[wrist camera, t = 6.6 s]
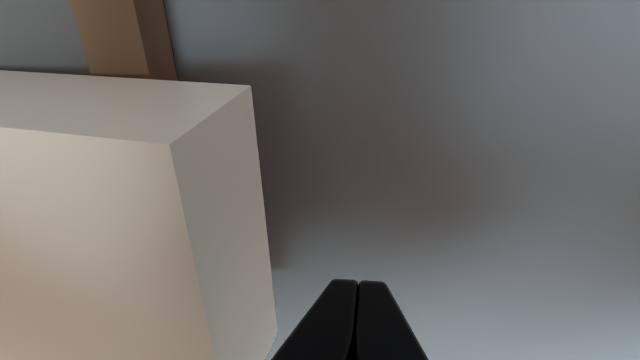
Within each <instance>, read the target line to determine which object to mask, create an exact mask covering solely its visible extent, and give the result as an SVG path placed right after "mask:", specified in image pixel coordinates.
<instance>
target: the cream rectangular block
mask: <svg viewBox="0 0 640 360" xmlns="http://www.w3.org/2000/svg"><path fill="white" fill-rule="evenodd" d="M277 335H278V328H277V319H276V310H275V301H274V291H273V282H272V273H271V264H270V255H269V246H268V236H267V227H266V218H265V209H264V200H263V191H262V181H261V172H260V163H259V154H258V145H257V136H256V126H255V117H254V108H253V99H252V90H251V85H236V84H220V83H203V82H187V81H170V80H154V79H137V78H121V77H104V76H88V75H71V74H55V73H38V72H22V71H5V70H0V360H266V357H267V355H268V353H269V351H270V349H271V347H272V345H273V343H274V341H275V339H276V337H277Z"/></svg>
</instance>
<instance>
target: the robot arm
mask: <svg viewBox="0 0 640 360" xmlns="http://www.w3.org/2000/svg"><path fill="white" fill-rule="evenodd" d="M271 360H428V358H427V356H426V354H425V352H424V351H423V349H422V347H421V345H420V344H419V342H418V340H417V338H416V336H415V335H414V333H413V331H412V329H411V328H410V326H409V324H408V322H407V320H406V319H405V317H404V315H403V313H402V311H401V310H400V308H399V306H398V304H397V303H396V301H395V299H394V297H393V295H392V294H391V292H390V290H389V288H388V287H387V285H386V284H385V283H384V282H382V281H365V280H363V281H361V282H360V283H359V286H358V282H357V281H356V280H347V279H334V280H332V281H331V282H330V283H329V285H328V286H327V287H326V289H325V290H324V291H323V292H322V294H321V295H320V296H319V298H318V299H317V300H316V302H315V303H314V304H313V306H312V307H311V308H310V309H309V311H308V312H307V313H306V315H305V316H304V317H303V319H302V320H301V321H300V323H299V324H298V325H297V326H296V328H295V329H294V330H293V332H292V333H291V334H290V336H289V337H288V338H287V340H286V341H285V342H284V343H283V345H282V346H281V347H280V349H279V350H278V351H277V353H276V354H275V355H274V357H273V358H272V359H271Z"/></svg>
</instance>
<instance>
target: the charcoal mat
mask: <svg viewBox="0 0 640 360" xmlns="http://www.w3.org/2000/svg"><path fill="white" fill-rule="evenodd" d="M0 70H5V71H22V72H38V73H55V74H71V75H88V76H91V73H90V69H89V66H88V62H87V59H86V55H85V51H84V48H83V44H82V41H81V37H80V34H79V30H78V27H77V23H76V19H75V16H74V12H73V9H72V5H71V2H70V0H0Z"/></svg>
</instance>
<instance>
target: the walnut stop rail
mask: <svg viewBox="0 0 640 360" xmlns="http://www.w3.org/2000/svg"><path fill="white" fill-rule="evenodd" d="M70 2H71V5H72V9H73V12H74V16H75V19H76V23H77V27H78V30H79V34H80V37H81V41H82V44H83V48H84V51H85V55H86V59H87V62H88V66H89V69H90V73H91V76H104V77H121V78H137V79H154V80H170V81H178V78H177V73H176V68H175V62H174V57H173V52H172V46H171V41H170V36H169V30H168V25H167V20H166V14H165V9H164V4H163V0H70Z"/></svg>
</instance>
